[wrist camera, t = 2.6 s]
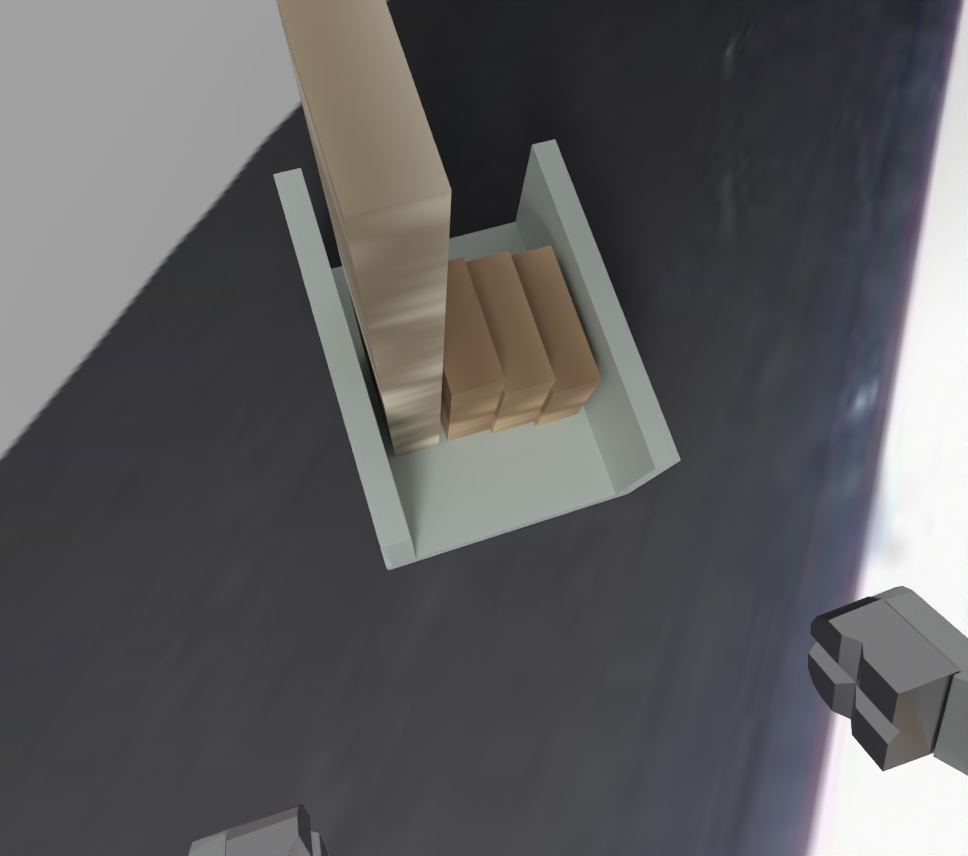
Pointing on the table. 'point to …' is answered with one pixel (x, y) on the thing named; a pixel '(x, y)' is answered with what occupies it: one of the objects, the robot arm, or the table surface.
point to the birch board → (379, 199)
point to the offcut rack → (485, 456)
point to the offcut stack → (511, 345)
